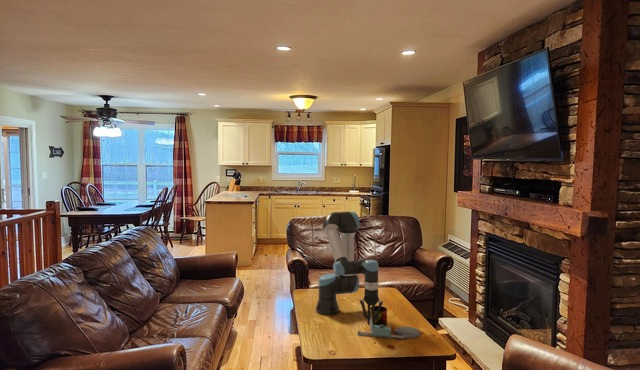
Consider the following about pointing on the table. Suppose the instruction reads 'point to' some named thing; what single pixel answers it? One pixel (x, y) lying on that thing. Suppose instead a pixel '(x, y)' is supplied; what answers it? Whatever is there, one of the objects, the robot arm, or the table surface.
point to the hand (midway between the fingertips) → (371, 330)
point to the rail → (381, 336)
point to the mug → (380, 315)
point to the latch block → (381, 330)
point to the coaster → (407, 332)
